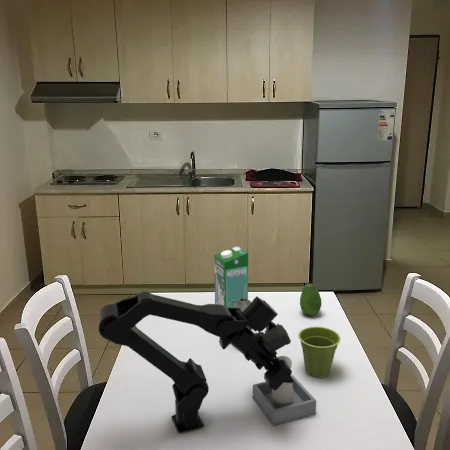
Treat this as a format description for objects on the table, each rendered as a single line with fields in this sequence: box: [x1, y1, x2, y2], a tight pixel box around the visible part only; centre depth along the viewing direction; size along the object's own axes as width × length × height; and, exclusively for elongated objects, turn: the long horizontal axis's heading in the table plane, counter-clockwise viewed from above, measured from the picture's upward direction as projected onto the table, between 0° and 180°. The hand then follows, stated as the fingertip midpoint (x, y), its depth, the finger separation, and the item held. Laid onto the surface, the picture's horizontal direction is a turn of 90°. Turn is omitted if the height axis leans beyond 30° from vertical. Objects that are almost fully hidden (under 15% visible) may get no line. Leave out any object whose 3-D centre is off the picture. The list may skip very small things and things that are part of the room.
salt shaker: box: [271, 355, 294, 408], centre depth 123 cm, size 6×6×13 cm
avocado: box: [299, 283, 322, 316], centre depth 173 cm, size 8×8×12 cm
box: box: [252, 374, 317, 427], centre depth 124 cm, size 12×12×4 cm
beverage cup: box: [233, 285, 253, 331], centre depth 153 cm, size 7×7×20 cm
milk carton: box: [213, 245, 249, 308], centre depth 171 cm, size 9×9×25 cm
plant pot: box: [297, 326, 342, 378], centre depth 138 cm, size 12×12×11 cm
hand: (289, 376), depth 123 cm, fingers open, 4 cm apart
